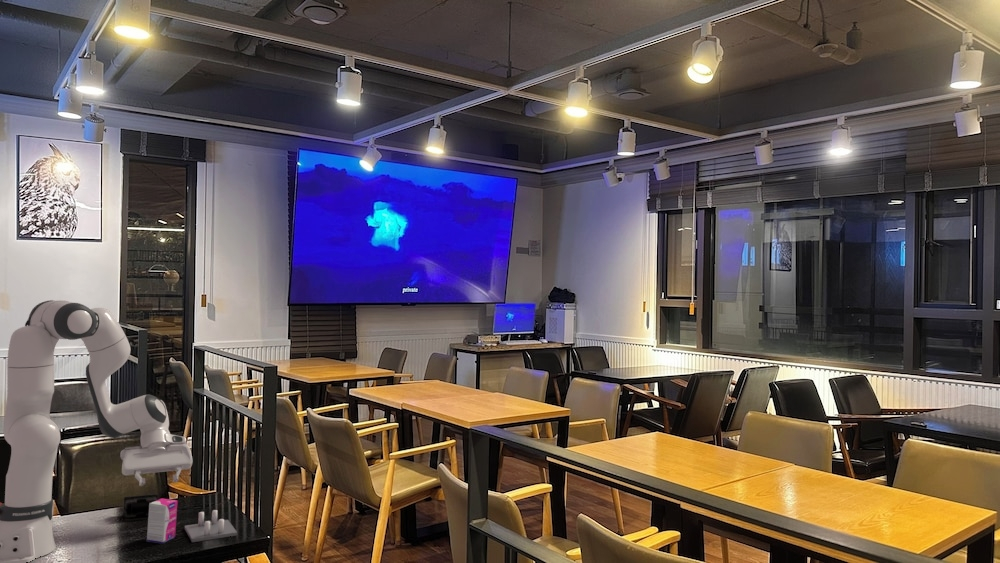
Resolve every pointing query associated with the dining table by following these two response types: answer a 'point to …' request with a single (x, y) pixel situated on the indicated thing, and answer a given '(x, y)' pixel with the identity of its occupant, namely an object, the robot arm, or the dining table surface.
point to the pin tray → (210, 528)
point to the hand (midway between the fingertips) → (159, 482)
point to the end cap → (138, 506)
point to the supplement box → (162, 520)
